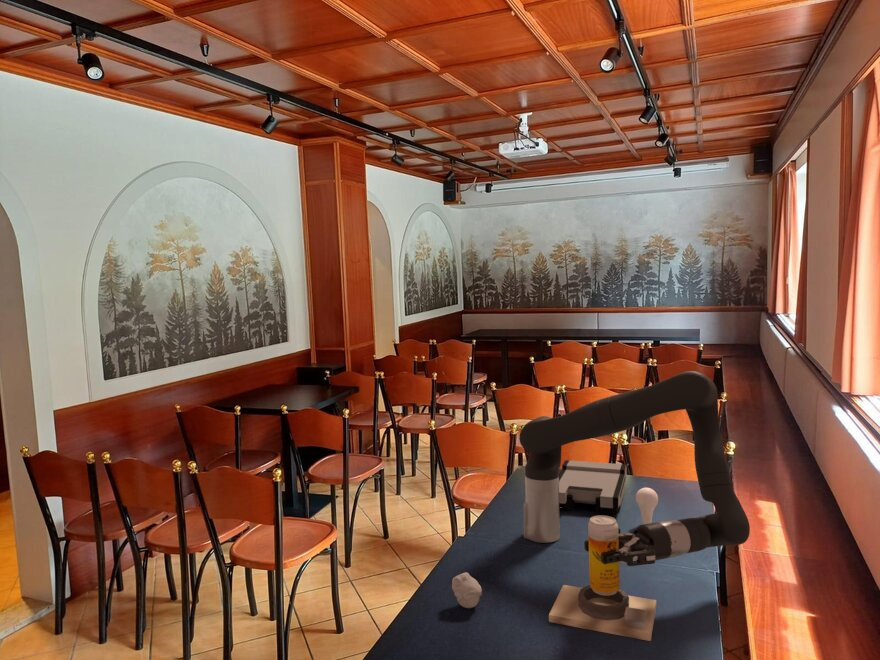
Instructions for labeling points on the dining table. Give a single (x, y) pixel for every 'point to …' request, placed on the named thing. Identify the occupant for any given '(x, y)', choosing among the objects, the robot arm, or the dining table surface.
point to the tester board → (604, 612)
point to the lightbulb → (646, 503)
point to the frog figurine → (466, 590)
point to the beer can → (600, 540)
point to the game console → (592, 485)
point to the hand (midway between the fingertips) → (593, 552)
